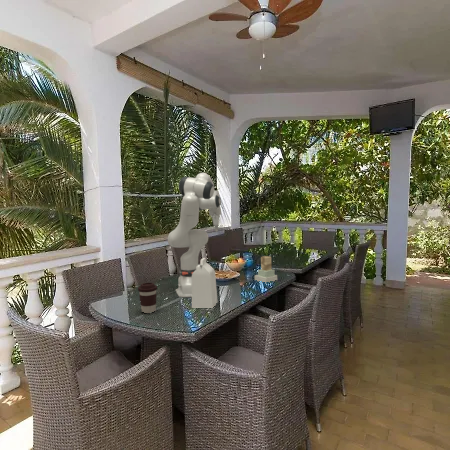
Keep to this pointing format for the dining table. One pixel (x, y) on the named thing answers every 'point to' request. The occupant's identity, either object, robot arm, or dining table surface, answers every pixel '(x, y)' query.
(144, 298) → the coffee cup
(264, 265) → the beech pillar
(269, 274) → the tower top block
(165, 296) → the dining table surface
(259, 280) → the tower base slab
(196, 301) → the milk
